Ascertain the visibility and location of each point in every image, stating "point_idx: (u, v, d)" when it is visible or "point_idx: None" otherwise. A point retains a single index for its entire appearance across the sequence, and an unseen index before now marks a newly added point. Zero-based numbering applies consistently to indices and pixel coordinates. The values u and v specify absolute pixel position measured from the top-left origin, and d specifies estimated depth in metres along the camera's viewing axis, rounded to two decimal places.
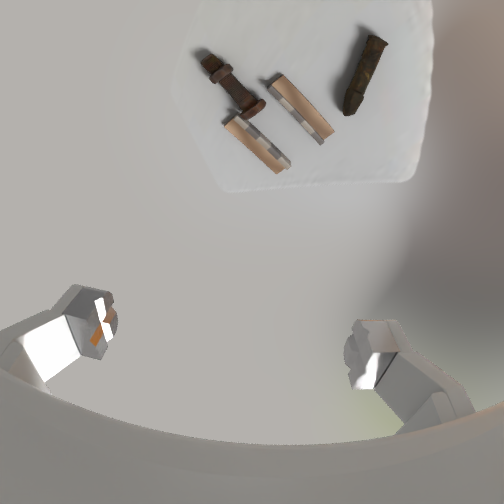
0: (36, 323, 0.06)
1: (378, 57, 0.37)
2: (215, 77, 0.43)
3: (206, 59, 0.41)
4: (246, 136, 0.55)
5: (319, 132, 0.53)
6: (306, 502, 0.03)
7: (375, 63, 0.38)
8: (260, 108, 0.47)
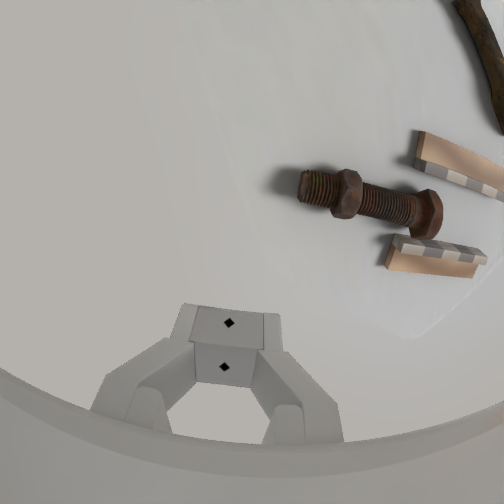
0: (161, 357, 0.06)
1: (490, 26, 0.12)
2: (348, 209, 0.24)
3: (306, 188, 0.24)
4: (423, 261, 0.29)
5: (497, 186, 0.24)
6: (306, 502, 0.03)
7: (495, 37, 0.13)
8: (441, 208, 0.23)
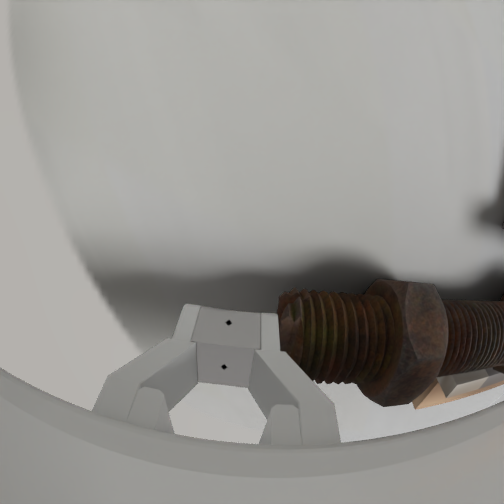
0: (163, 357, 0.06)
1: None
2: (400, 399, 0.07)
3: None
4: None
5: None
6: (306, 502, 0.03)
7: None
8: None
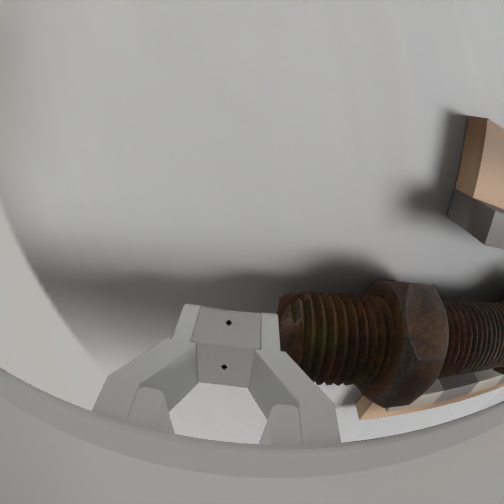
0: (163, 357, 0.06)
1: None
2: (400, 400, 0.07)
3: None
4: None
5: None
6: (306, 502, 0.03)
7: None
8: None
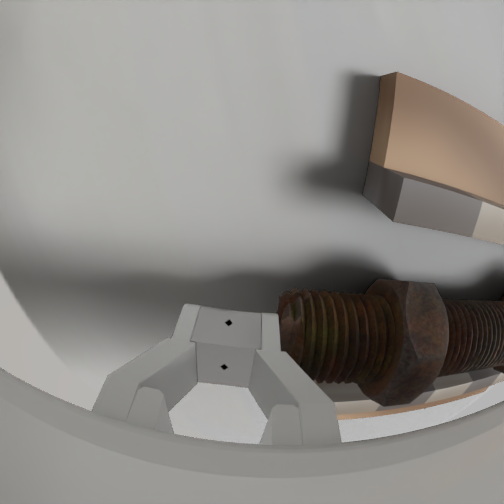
0: (163, 357, 0.06)
1: None
2: (401, 398, 0.07)
3: None
4: None
5: None
6: (306, 502, 0.03)
7: None
8: None
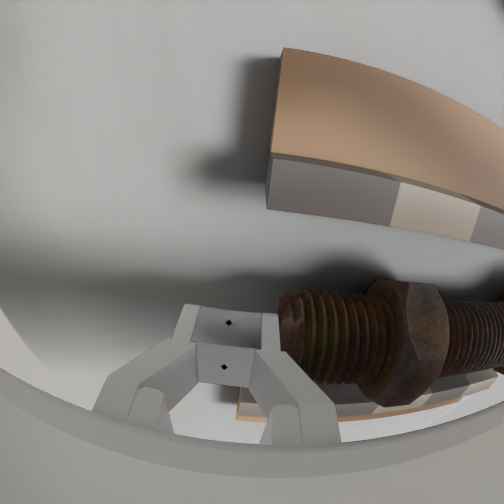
0: (163, 357, 0.06)
1: None
2: (401, 399, 0.07)
3: None
4: None
5: None
6: (306, 502, 0.03)
7: None
8: None
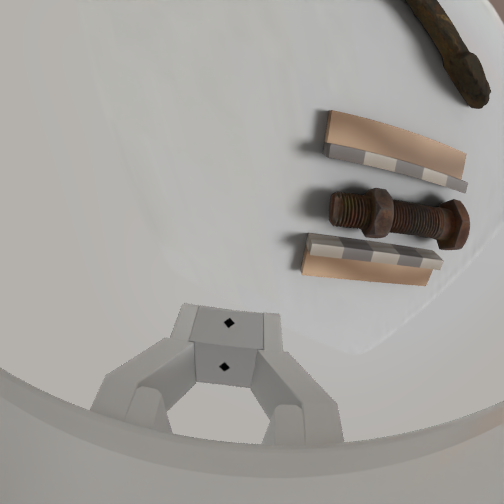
0: (161, 357, 0.06)
1: None
2: (381, 230, 0.23)
3: (338, 211, 0.23)
4: (349, 265, 0.28)
5: (450, 172, 0.22)
6: (306, 502, 0.03)
7: None
8: (467, 218, 0.21)
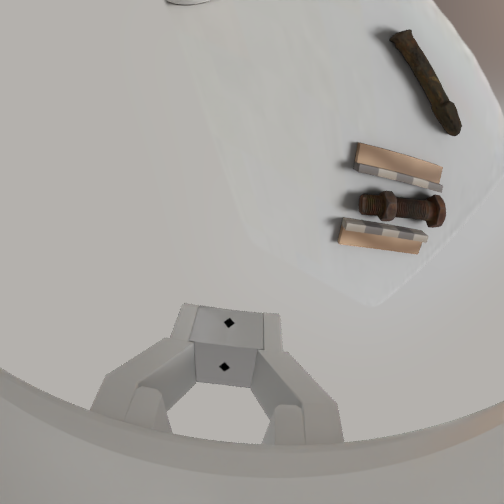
0: (161, 357, 0.06)
1: (421, 51, 0.26)
2: (390, 215, 0.38)
3: (365, 205, 0.38)
4: (368, 238, 0.43)
5: (431, 179, 0.37)
6: (306, 502, 0.03)
7: (426, 60, 0.27)
8: (444, 206, 0.36)
